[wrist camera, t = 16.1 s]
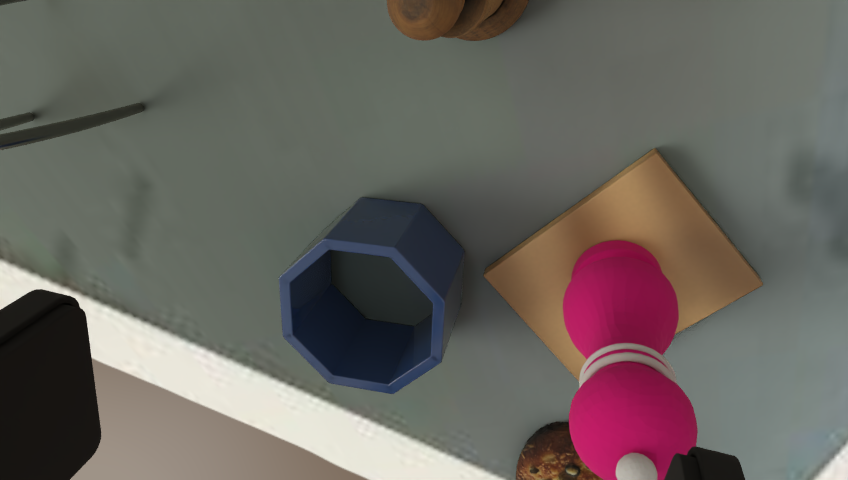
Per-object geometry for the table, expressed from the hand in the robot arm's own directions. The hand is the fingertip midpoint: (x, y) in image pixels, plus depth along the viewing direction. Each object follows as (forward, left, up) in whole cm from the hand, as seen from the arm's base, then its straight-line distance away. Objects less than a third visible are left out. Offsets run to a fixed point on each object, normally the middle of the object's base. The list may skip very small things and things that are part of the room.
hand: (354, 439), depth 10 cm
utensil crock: (+18, +5, -36) cm, 41 cm away
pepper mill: (+4, +15, -35) cm, 39 cm away
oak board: (+4, +16, -36) cm, 40 cm away
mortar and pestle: (-1, -6, -36) cm, 37 cm away
